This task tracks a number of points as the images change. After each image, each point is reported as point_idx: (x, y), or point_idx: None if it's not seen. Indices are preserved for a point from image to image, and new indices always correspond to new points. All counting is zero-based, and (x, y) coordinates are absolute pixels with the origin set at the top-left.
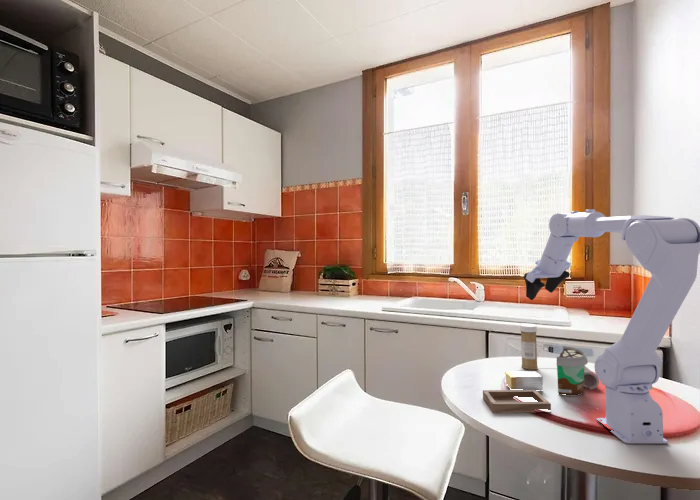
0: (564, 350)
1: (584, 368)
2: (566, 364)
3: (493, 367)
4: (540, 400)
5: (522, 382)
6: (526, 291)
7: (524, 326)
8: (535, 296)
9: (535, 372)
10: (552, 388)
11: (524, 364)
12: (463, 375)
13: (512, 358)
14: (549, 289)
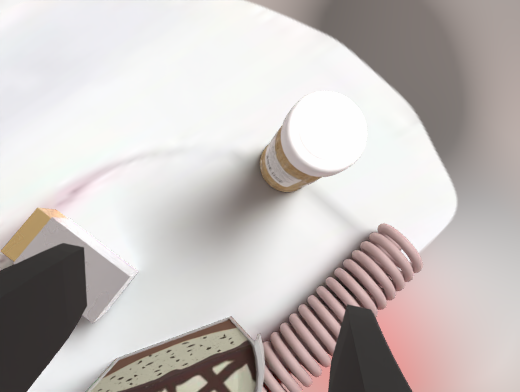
0: (235, 357)
1: (283, 383)
2: None
3: (190, 76)
4: None
5: None
6: (15, 268)
7: (286, 132)
8: (51, 351)
9: (115, 283)
10: (155, 318)
11: (263, 157)
12: (28, 53)
13: (337, 66)
14: (336, 361)
